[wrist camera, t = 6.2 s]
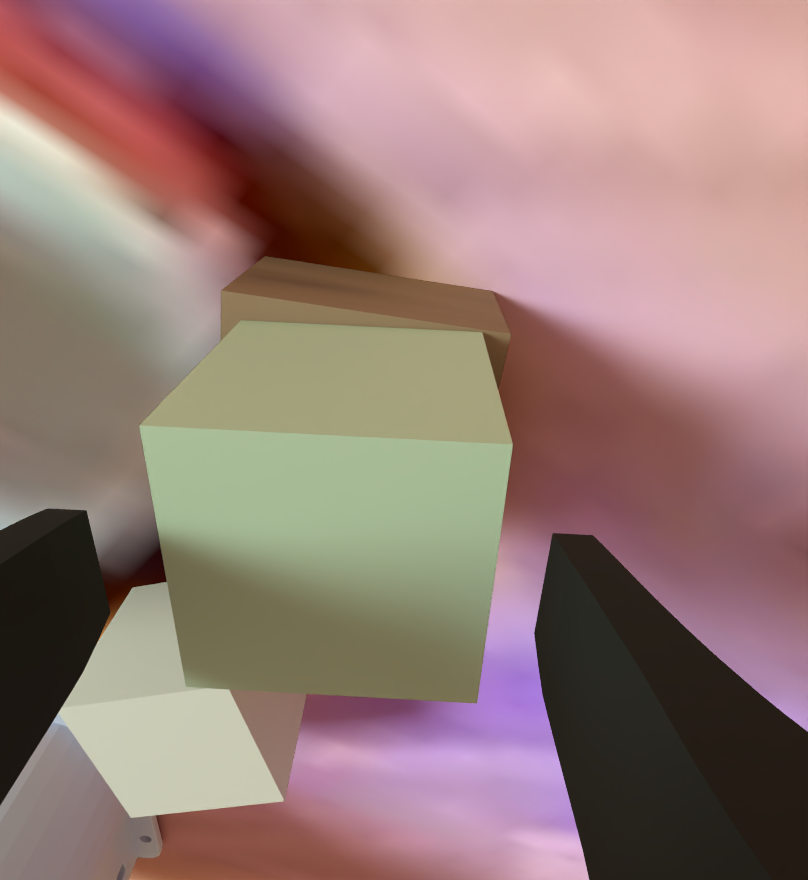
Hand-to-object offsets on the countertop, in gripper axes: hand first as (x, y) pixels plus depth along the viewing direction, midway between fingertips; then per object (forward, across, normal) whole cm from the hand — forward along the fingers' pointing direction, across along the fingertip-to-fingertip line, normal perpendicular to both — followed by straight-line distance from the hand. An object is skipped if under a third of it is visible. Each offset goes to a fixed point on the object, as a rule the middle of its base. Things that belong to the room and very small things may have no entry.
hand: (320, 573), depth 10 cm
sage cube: (+5, 0, 0) cm, 5 cm away
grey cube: (+9, +5, +10) cm, 14 cm away
